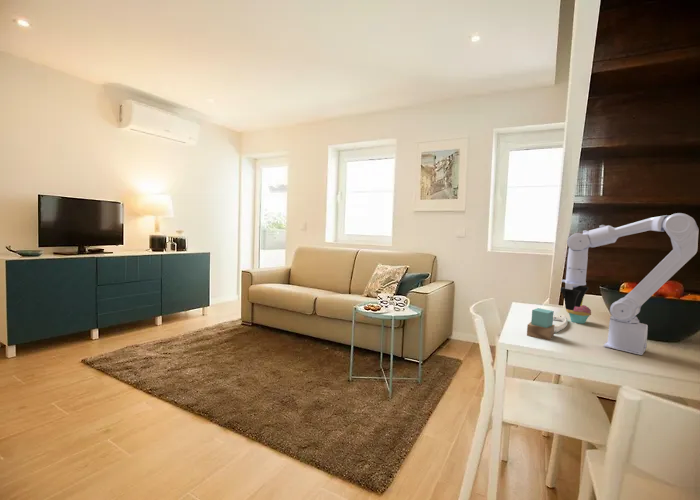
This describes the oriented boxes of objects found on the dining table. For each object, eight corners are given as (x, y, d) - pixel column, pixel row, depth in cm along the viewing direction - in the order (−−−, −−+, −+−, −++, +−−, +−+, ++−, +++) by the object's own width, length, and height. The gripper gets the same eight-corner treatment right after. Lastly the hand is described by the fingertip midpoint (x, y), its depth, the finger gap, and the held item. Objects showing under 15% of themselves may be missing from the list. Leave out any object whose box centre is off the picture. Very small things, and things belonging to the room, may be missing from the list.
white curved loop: (571, 322, 140) (559, 336, 121) (544, 317, 147) (528, 329, 128) (572, 315, 140) (560, 328, 121) (544, 311, 147) (529, 322, 128)
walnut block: (553, 336, 121) (554, 324, 120) (549, 341, 115) (550, 329, 115) (531, 331, 125) (532, 320, 125) (526, 336, 120) (527, 324, 119)
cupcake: (595, 325, 135) (598, 294, 134) (573, 324, 135) (576, 294, 134) (581, 319, 144) (583, 290, 143) (560, 318, 144) (562, 289, 143)
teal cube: (552, 325, 119) (553, 311, 119) (546, 327, 116) (548, 313, 116) (537, 322, 123) (538, 308, 123) (531, 324, 120) (532, 310, 120)
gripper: (569, 266, 126) (566, 302, 127) (556, 268, 116) (553, 308, 118) (592, 268, 121) (589, 306, 122) (581, 271, 111) (577, 313, 112)
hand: (573, 307), depth 120 cm, fingers open, 7 cm apart
